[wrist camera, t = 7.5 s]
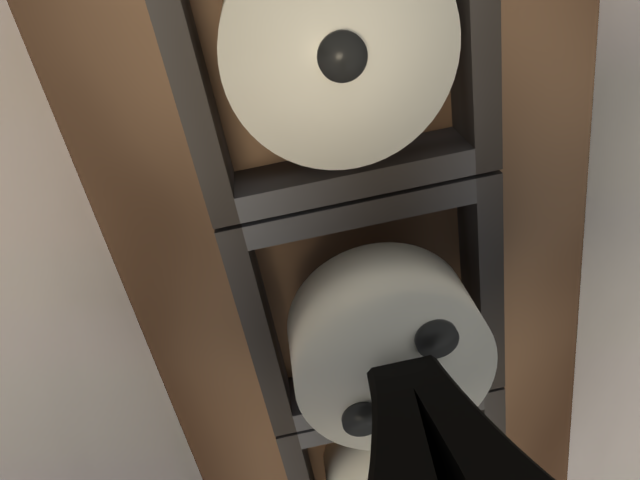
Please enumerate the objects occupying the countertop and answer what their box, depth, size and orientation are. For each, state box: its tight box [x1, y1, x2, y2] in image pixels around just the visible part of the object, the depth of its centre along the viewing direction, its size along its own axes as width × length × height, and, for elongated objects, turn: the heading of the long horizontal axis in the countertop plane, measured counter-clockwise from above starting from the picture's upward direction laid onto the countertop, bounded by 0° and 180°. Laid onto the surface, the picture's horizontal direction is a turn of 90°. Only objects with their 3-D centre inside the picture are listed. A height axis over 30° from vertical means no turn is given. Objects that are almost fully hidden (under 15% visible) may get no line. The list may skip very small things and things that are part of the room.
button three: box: [287, 242, 498, 451], centre depth 13 cm, size 4×4×2 cm
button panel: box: [7, 0, 600, 480], centre depth 16 cm, size 12×20×4 cm, turn 9°
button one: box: [217, 0, 461, 170], centre depth 11 cm, size 4×4×2 cm
